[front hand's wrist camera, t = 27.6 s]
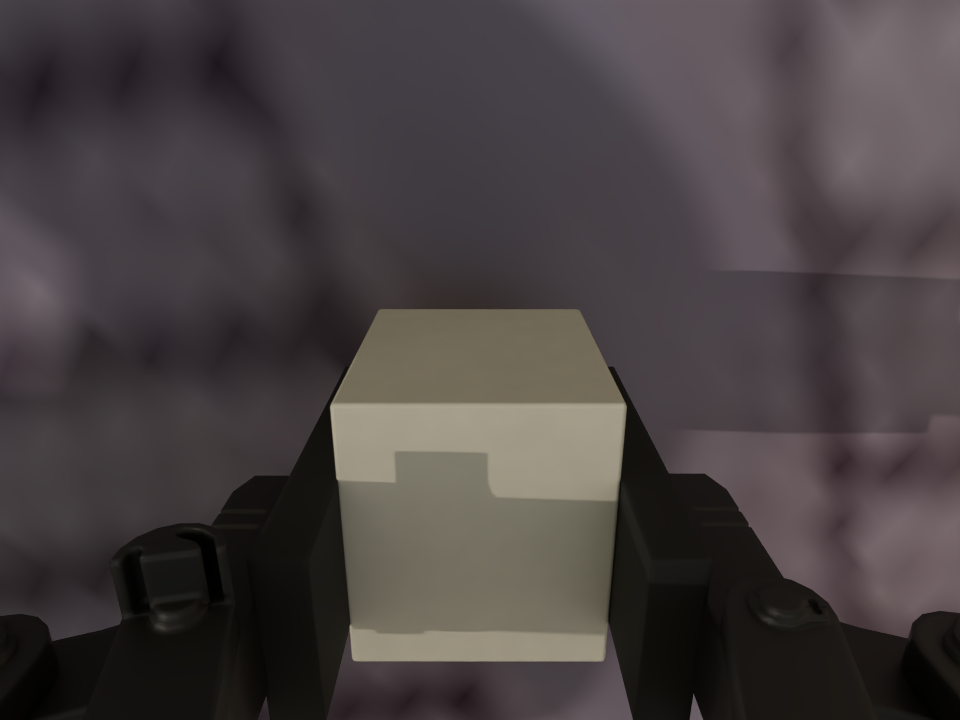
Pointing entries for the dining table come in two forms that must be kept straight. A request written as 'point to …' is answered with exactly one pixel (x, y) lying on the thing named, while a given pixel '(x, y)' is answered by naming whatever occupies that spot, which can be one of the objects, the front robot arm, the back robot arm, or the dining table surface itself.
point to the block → (478, 486)
